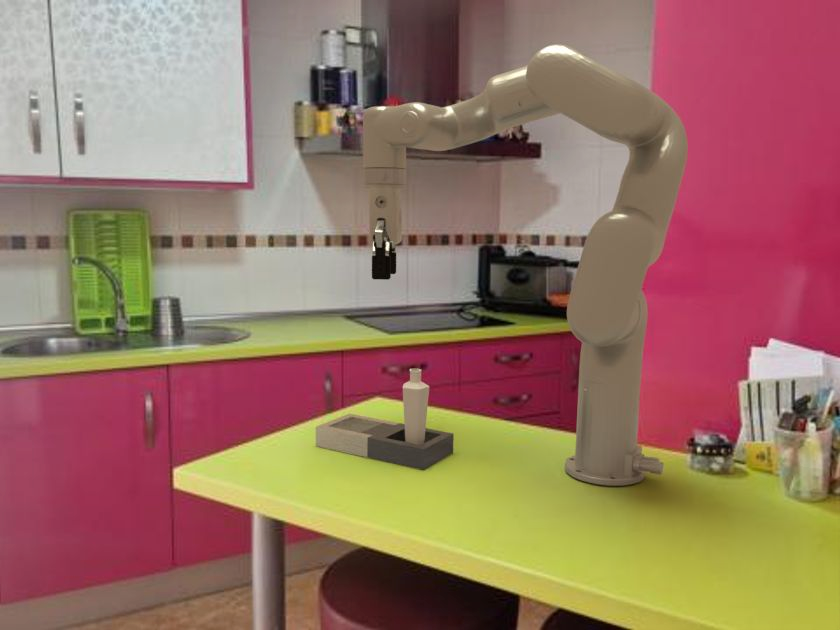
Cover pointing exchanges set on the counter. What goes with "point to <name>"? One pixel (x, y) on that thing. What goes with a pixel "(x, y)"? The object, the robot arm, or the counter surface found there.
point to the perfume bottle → (415, 408)
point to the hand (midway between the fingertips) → (384, 276)
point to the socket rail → (383, 441)
